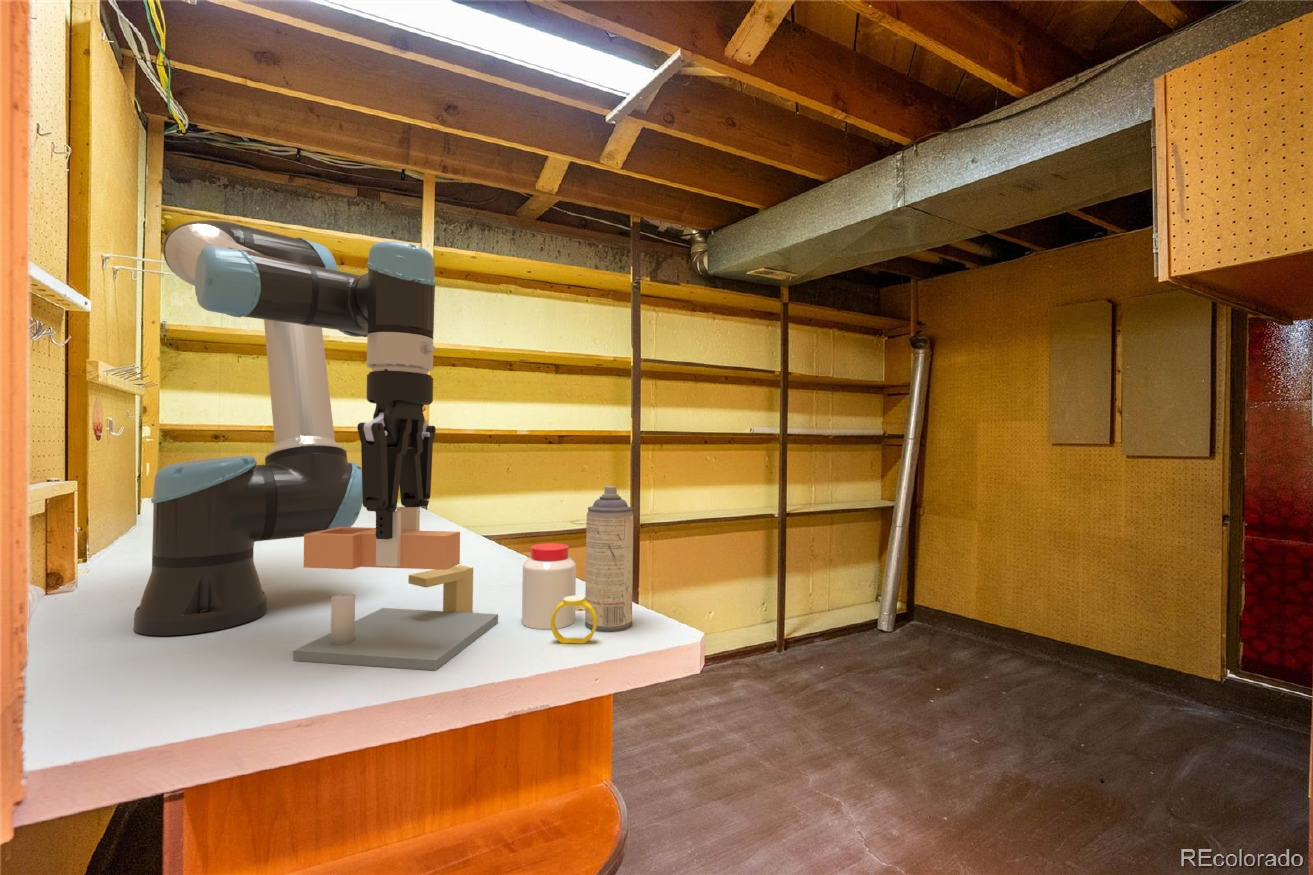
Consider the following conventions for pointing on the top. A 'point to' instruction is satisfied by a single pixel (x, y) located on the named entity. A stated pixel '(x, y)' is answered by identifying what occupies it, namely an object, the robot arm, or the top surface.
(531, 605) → the pill bottle
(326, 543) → the link
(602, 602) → the aerosol can
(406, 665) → the board
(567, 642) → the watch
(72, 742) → the top surface
